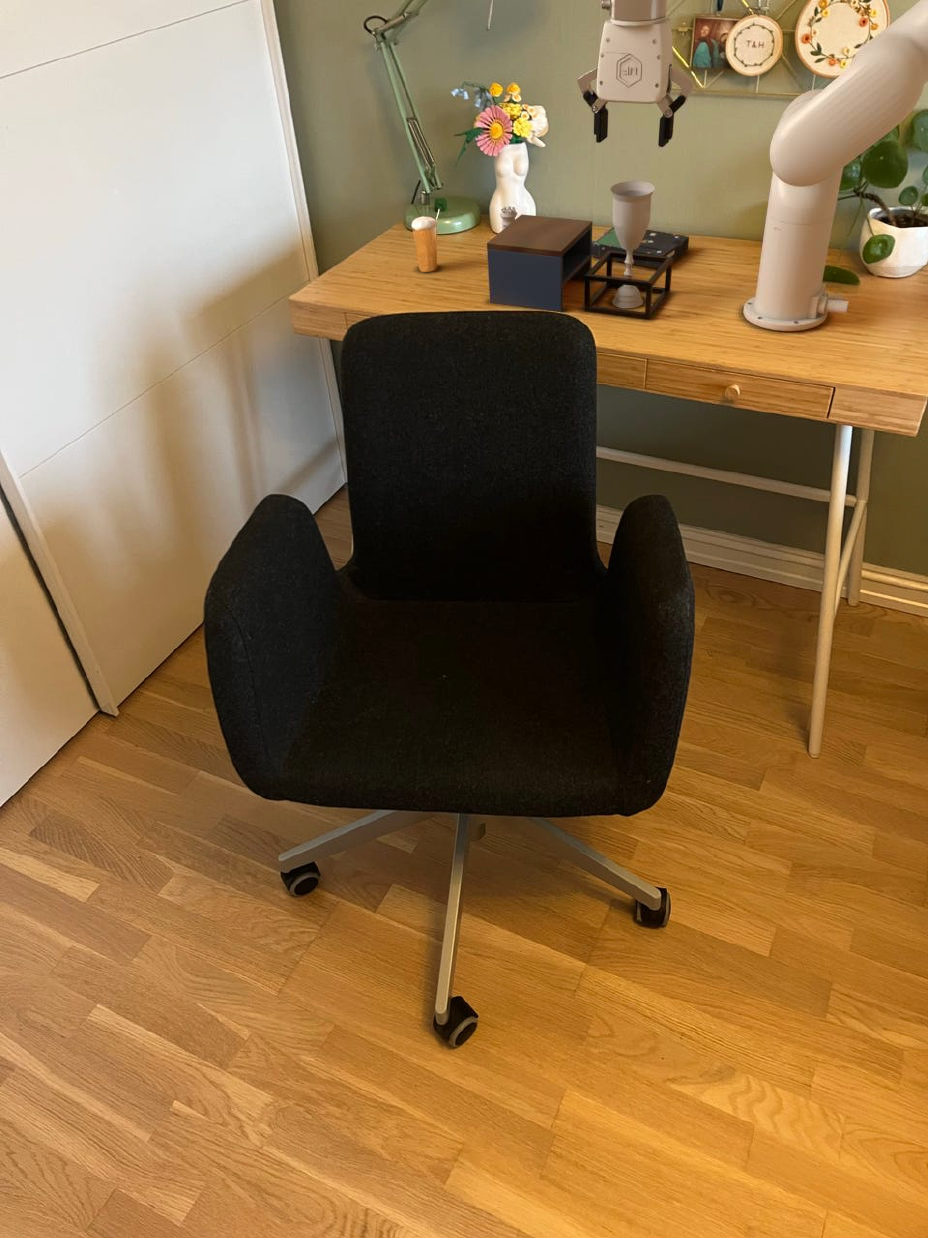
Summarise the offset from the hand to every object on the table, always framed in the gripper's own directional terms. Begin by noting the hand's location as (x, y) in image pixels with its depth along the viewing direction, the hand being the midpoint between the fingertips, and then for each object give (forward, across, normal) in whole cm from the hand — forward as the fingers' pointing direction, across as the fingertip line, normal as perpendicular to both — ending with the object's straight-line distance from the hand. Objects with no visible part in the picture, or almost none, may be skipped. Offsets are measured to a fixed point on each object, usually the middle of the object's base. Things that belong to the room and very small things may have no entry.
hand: (632, 142), depth 143 cm
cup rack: (+25, 0, 0) cm, 25 cm away
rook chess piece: (+25, -28, +14) cm, 40 cm away
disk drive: (+25, -5, +20) cm, 33 cm away
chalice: (+25, 0, 0) cm, 25 cm away
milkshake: (+25, -38, +4) cm, 46 cm away
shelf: (+25, -15, 0) cm, 29 cm away
